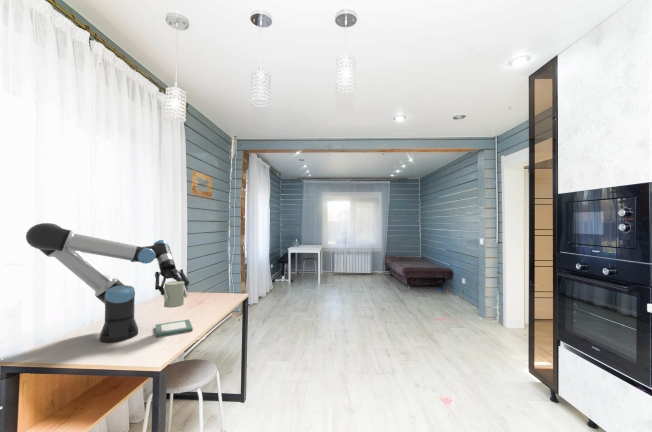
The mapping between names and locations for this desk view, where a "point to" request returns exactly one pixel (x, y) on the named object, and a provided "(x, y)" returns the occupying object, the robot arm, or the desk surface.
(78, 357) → the desk surface
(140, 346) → the desk surface
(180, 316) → the desk surface
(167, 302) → the can
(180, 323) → the board
